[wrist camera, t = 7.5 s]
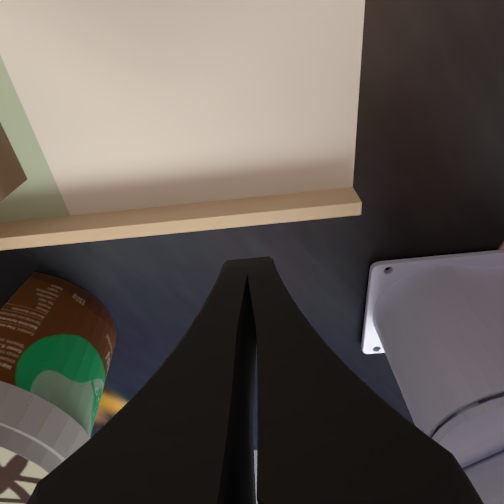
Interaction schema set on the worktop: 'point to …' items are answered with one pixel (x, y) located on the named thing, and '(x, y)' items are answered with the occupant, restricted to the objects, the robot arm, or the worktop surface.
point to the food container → (48, 378)
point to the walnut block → (9, 167)
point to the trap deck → (177, 115)
